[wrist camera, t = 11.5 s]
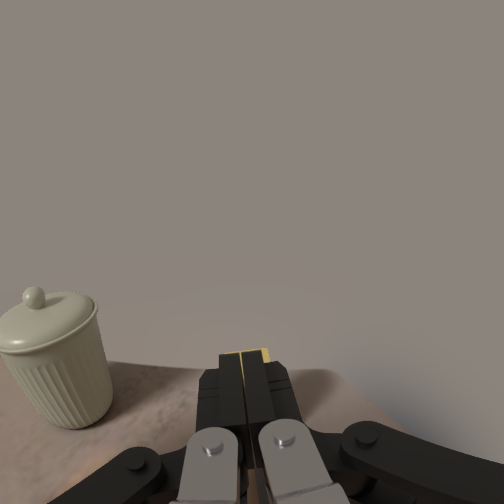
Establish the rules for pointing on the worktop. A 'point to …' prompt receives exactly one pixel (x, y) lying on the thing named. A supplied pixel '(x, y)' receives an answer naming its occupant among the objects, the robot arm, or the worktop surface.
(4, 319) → the canister
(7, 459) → the worktop surface
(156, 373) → the worktop surface
